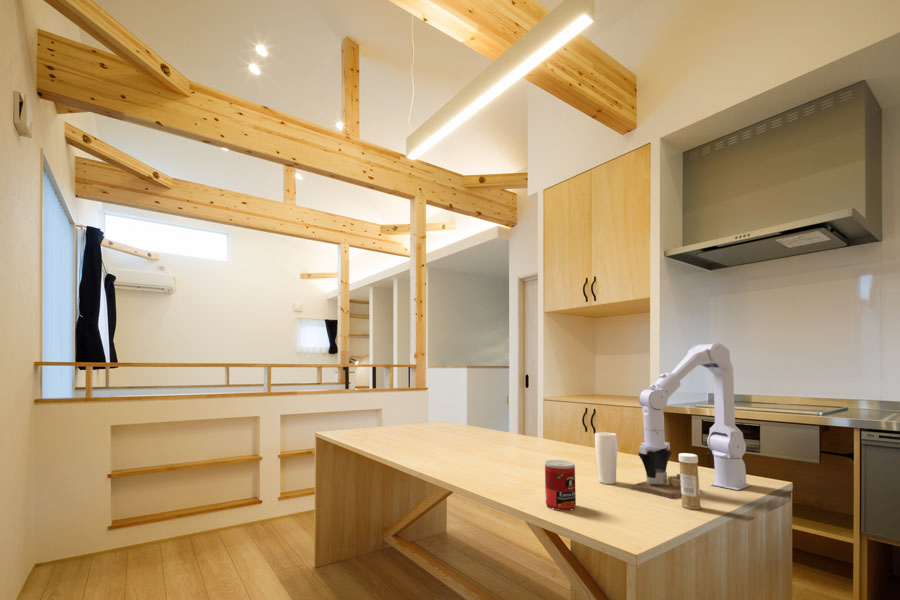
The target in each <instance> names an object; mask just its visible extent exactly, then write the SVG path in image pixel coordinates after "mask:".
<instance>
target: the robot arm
mask: <svg viewBox="0 0 900 600" xmlns="http://www.w3.org/2000/svg"><path fill="white" fill-rule="evenodd" d="M698 366H702V367H704V368H707V369H708V370H709V372H711V373H712V375H713V400H714V403H713V404H714V407H713V409H714V423H713V425H712V426H711V427H709V433H708V437H707V440H706V441H707V446H708V448H709V450H710V451H711V454H712V455H713V461H714V477H715V480H714V481H713V482H711V483H710V486H714V487H720V488H725V489H730V490H734V491H735V490H736V491H740V490H742V489H745V488H747V487H750V486H751V484H750V483H747V472H746V464H745V461H744V460H743V456H744V455H745V453H746V451H747V444H746V441H745V439H744V433H743V432H742V430H741V429H740V428H739V427H738V426H736V416H735V415H736V413H735V412H736V411H735V407H736V406H735V389H734V388H735V387H734V386H735V385H734V384H735V383H734V380H735V379H734V367H733V365H732V361H731V351H730V350H729V349H728V348H727V347H726V346H725V345H724V344H722V343H720V342H717V343H704V344H701V343H699V344H698V343H697V344H694V345H692V347H691V348H690V349H688V350H687V354H686V355H685V356H684V357H683V358H682V360H681V361H680V362H679V363H678V364H677V365H676V366H675V367H674V369H673V370H672V371H671V372H665V373H661V374H660V375H658V376H659V378H658V379H657V380H656V381H655V382H654V383H653V384H650V385H649V387H648V388H647V389H644V390H642V391H641V392H640V395H639V397H638V398H637V400H638V403H639V405H640V406H641V411H642V418H643V419H642V421H643V436H644V437H643V439H644V442H640V446H638V450H639V451H638V456H639V458H640V460H641V462H642V464H643V466H644V470H645V473H646V478H647V477H650V478H655V476H656V469H659V470H664V471H666V472H667V466H668V463H669V460H670V457H671V456H672V451H671V450H670V449H671V446H670V442H669V441H668V442H667V441H666V439H665V437H666V436H665V417H664V408H666V407H667V405H668V400H669V398H670V397H671V396H672V395H673V394H674V393H675V392H676V391H677V390H678V389H679V388H680V387H681V380H683V379H684V377H686V376H687V375H688V374H690V373H691V372H692V371H693V370H694V369H695V368H697V367H698Z"/></svg>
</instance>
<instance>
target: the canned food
mask: <svg viewBox="0 0 900 600" xmlns="http://www.w3.org/2000/svg"><path fill="white" fill-rule="evenodd" d="M544 483H545V505H546V506H547V507H548V506H549V507H550V508H549V507H548V508H549V509H551V508H554V509H559V510H570V511H572V510H571V509H573V510H575V508H576V504H577V502H576V501H577V500H576V499H577V497H576V496H577V495H576V466H575V463H574V462H572V461H569V460H564V459H550V460H546V461H545V462H544ZM554 509H553V510H554ZM559 510H558V511H559Z"/></svg>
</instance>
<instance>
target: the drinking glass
mask: <svg viewBox="0 0 900 600" xmlns="http://www.w3.org/2000/svg"><path fill="white" fill-rule="evenodd" d="M617 435H618V434H616V433H613V432H606V431H605V432H603V431H601V432H599V431H598V432H597V431H596V432H595V433H594V449H595V456H596V457H595V458H596V464H597V465H596V466H597V476H598V478H597V479H598V482H599V483H600V484H604V485H614V484H616V483H617V465H618V463H617V462H618V436H617Z"/></svg>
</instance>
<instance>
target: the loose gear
mask: <svg viewBox="0 0 900 600" xmlns="http://www.w3.org/2000/svg"><path fill="white" fill-rule="evenodd" d="M667 474H668V473H667V470H666V471H664V470H659V469H656V476H655V478H650V477H647V476H646V481H648V482H649V483H653V484H667V479H668V475H667Z"/></svg>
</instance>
